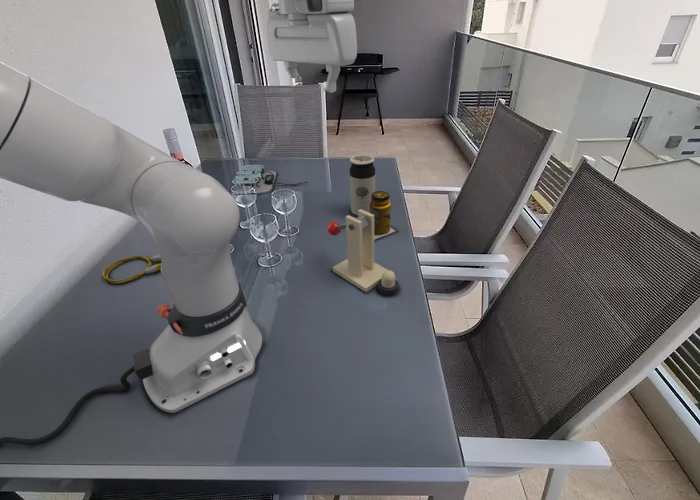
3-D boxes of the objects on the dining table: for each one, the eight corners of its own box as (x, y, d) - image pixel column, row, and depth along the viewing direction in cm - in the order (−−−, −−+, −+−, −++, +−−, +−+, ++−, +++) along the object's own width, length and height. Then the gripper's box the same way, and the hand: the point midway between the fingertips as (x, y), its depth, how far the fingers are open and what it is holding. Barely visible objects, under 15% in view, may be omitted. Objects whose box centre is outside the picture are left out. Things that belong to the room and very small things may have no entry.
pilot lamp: (389, 299, 81) (389, 281, 78) (373, 289, 84) (373, 272, 81) (402, 289, 84) (403, 271, 80) (387, 280, 86) (387, 262, 83)
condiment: (395, 231, 105) (397, 195, 98) (373, 240, 101) (373, 203, 95) (381, 221, 110) (381, 186, 103) (359, 230, 106) (358, 194, 100)
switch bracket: (332, 271, 90) (327, 214, 81) (357, 256, 95) (355, 201, 86) (366, 292, 83) (365, 232, 73) (390, 275, 88) (392, 217, 78)
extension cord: (147, 287, 88) (144, 281, 87) (93, 282, 90) (90, 276, 89) (175, 259, 98) (173, 253, 96) (126, 255, 100) (123, 249, 99)
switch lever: (328, 238, 90) (322, 225, 90) (338, 232, 92) (333, 220, 92) (361, 232, 79) (355, 217, 78) (372, 226, 81) (366, 211, 80)
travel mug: (355, 204, 121) (354, 153, 110) (377, 207, 118) (378, 155, 108) (347, 215, 114) (345, 162, 104) (371, 218, 112) (371, 164, 102)
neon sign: (306, 180, 128) (226, 184, 128) (307, 191, 131) (229, 195, 130) (309, 160, 146) (239, 164, 145) (310, 169, 148) (241, 173, 148)
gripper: (253, 4, 63) (267, 87, 71) (333, -2, 51) (339, 98, 59) (281, 3, 67) (291, 82, 75) (361, -3, 55) (363, 91, 63)
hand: (313, 89), depth 67 cm, fingers open, 8 cm apart
